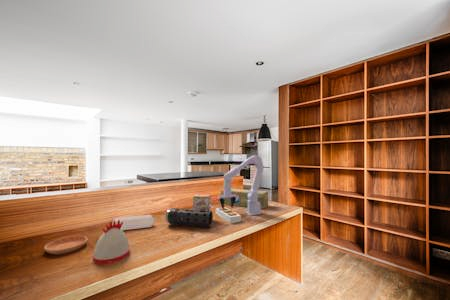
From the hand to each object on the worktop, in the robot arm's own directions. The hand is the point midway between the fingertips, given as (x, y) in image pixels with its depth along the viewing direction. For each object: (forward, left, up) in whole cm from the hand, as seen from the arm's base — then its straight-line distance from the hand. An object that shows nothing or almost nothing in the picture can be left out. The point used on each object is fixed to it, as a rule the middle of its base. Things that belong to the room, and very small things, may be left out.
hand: (227, 207), depth 147 cm
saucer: (+92, +15, -5) cm, 94 cm away
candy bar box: (+21, +4, -5) cm, 22 cm away
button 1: (+3, 0, -3) cm, 5 cm away
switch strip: (+3, +7, -5) cm, 9 cm away
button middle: (+3, +7, -3) cm, 8 cm away
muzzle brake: (+32, +12, -5) cm, 35 cm away
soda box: (-26, -19, -5) cm, 32 cm away
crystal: (+64, 0, -5) cm, 64 cm away
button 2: (+3, +14, -3) cm, 15 cm away
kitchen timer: (+72, +32, -5) cm, 79 cm away
